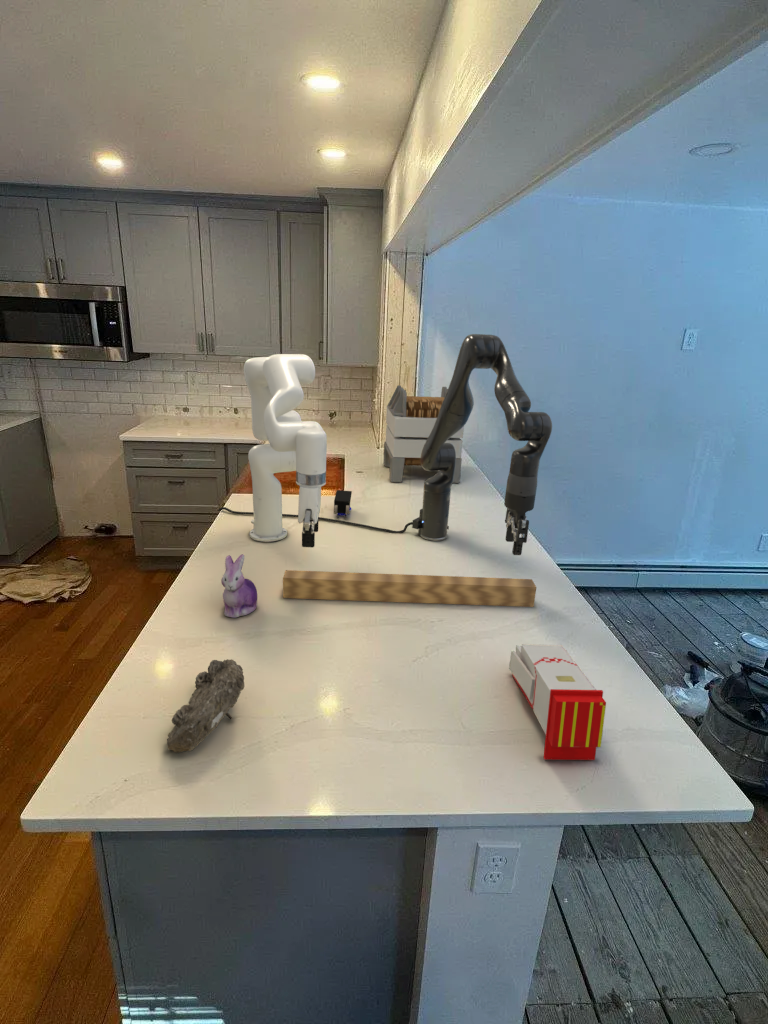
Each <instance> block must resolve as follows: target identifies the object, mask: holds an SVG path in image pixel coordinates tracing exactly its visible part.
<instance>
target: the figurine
mask: <svg viewBox="0 0 768 1024" xmlns="http://www.w3.org/2000/svg"><path fill="white" fill-rule="evenodd" d="M224 562H225V563H224V564H225V565H224V569H225V570H224V573H223V574H222V577H221V579H220V580H221V585H222V587H223V588H224V589H223V592H222V600H223V604H224V611H223V613H224V616H225V617H229V618H239V617H243V616H247V615H249V614H251V613H253V612H254V611H256V609H257V607H258V590H257V587H256V584H255V583H254V582H253V580H250V579H248V578H245V576H244V574H243V572H242V569H243V566H244V563H245V555H244V553H243V554H242V553H241V554H240V555H239V556H238V557H237V558H236V560H235V561H234V560H233V558H232V555H230V554H229V555H226V557H225V560H224Z"/></svg>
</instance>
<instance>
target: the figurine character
mask: <svg viewBox="0 0 768 1024" xmlns="http://www.w3.org/2000/svg"><path fill="white" fill-rule="evenodd" d="M352 492H353V491H352V490H340V489H336V492H335V495H334V500H333V515H336V519H339V518H340V517H341V516H344V519H347V516H348V515H350V511H352V507H351V498H352V494H353V493H352Z"/></svg>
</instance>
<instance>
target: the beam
mask: <svg viewBox="0 0 768 1024" xmlns="http://www.w3.org/2000/svg"><path fill="white" fill-rule="evenodd" d="M536 594H537V586H536V583H535V581H534V580H533V579H532V578H508V577H482V576H481V577H480V576H459V575H458V576H457V575H456V576H453V575H427V574H404V573H403V574H402V573H400V574H399V573H378V572H377V573H375V572H373V573H372V572H350V571H349V572H347V571H320V570H319V571H318V570H294V569H293V570H292V569H291V570H290V569H285V571H284V573H283V577H282V598H283V599H300V600H302V599H304V600H326V601H327V600H328V601H329V600H332V601H355V602H357V601H358V602H387V603H414V604H415V603H416V604H437V605H438V604H441V605H443V604H444V605H467V606H469V605H472V606H494V607H496V606H499V607H527V608H533V607H535V600H536Z"/></svg>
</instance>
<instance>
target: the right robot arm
mask: <svg viewBox="0 0 768 1024" xmlns="http://www.w3.org/2000/svg"><path fill="white" fill-rule="evenodd" d="M503 342H504V341H503V340H502V339H501V338H500V337H499V336H498V335H495V334H486V333H485V334H483V333H482V334H481V333H471V334H468V335H466V336H465V338H464V339H463V341H462V343H461V346H460V348H459V352H458V356H457V359H456V361H455V362H456V363H455V367H454V370H453V374H452V376H451V379H450V382H449V385H448V388H447V389H448V390H447V393H446V395H445V398H444V400H443V403H442V405H441V408H440V411H439V414H438V417H437V419H436V422H435V424H434V427H433V429H432V431H431V433H430V435H429V437H428V439H427V441H426V442H425V444H424V447H423V449H422V452H421V466H420V467H422V469H423V470H424V471H427V472H436V473H435V474H434V475H432V476H430V477H428V478H427V479H425V480H424V482H423V493H422V496H423V497H422V506H421V508H420V509H419V516H418V517H416V518H414V519H412V521H411V522H408V523H406V524H405V526H404V528H403V529H401V530H392V529H388V528H384V527H383V528H382V527H377V526H372V525H367V524H362V523H357V522H353V521H352V522H351V521H347V520H340V519H335V518H334V519H333V518H328V517H322V516H319V517H318V518H319V521H326V522H333V523H340V524H343V525H344V524H345V525H350V526H354V527H355V526H356V527H360V528H366V529H370V530H375V531H379V532H387V533H389V534H390V533H391V534H402V533H405V532H406V531H407V530H408V527H410V526H412V527H411V528H412V529H415V530H417V535H418V536H420V538H421V539H424V540H426V541H432V542H440V541H444V540H446V539H447V538H448V531H449V529H450V526H449V517H450V516H449V514H450V504H451V494H452V493H451V491H452V485H453V484H454V483H453V476H454V469H455V462H456V452H455V448H454V446H453V445H452V444H451V443H445V442H446V441H447V440H448V439H449V438H450V437H452V436H453V435H454V434H455V433H457V432H458V431H459V430H460V429H461V428H462V427H463V426H464V427H465V425H466V424H467V423H468V420H469V418H470V416H471V413H472V411H473V408H474V405H475V401H474V396H473V393H472V392H473V391H472V389H471V386H470V382H469V381H470V377H471V374H472V372H473V370H474V369H476V370H477V369H481V370H489V369H491V370H492V371H493V372H494V373H495V375H496V379H495V382H494V388H493V389H494V396H495V399H496V400H497V402H498V404H499V406H500V408H501V409H502V411H503V413H504V418H505V422H506V429H507V432H508V436H510V437H511V438H512V439H513V440H514V441H517V442H527V443H526V444H525V445H524V446H522V447H519V448H516V449H515V450H513V451H512V453H511V457H510V465H509V472H508V476H507V480H506V488H505V494H504V500H503V505H504V507H505V508H506V513H505V519H504V523H505V524H506V525H505V527H506V532H505V542H508V543H513V545H512V552H511V554H512V555H513V556H521V555H522V553H523V545H524V544H527V542H528V533H529V526H530V520H529V519H528V517H527V515H526V513H528V512H531V511H532V510H534V508H535V503H536V495H537V489H538V476H539V469H540V468H539V467H540V461H541V458H542V456H543V453H544V451H545V449H546V447H547V444H548V443H549V440H550V438H551V435H552V431H553V421H552V418H551V416H550V415H549V413H547V412H544V411H530V410H531V407H532V401H531V399H530V397H529V395H528V393H527V392H526V390H525V389H524V387H523V386H522V384H521V383H520V381H519V380H518V377H517V375H516V373H515V371H514V367H513V365H512V362H511V359H510V357H509V354H508V352H507V349H506V346H505V344H504V343H503ZM223 510H225V511H227V512H229V513H230V514H234V515H246V516H247V515H249V516H254V514H253V511H252V512H251V511H236V510H233V509H230V508H228V507H226V506H221V507H220V508H219V509H218V510H217V511H218V512H221V511H223ZM282 517H284V518H285V517H287V518H298V514H291V513H289V514H288V513H287V514H286V513H282ZM520 535H521V536H520Z"/></svg>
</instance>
